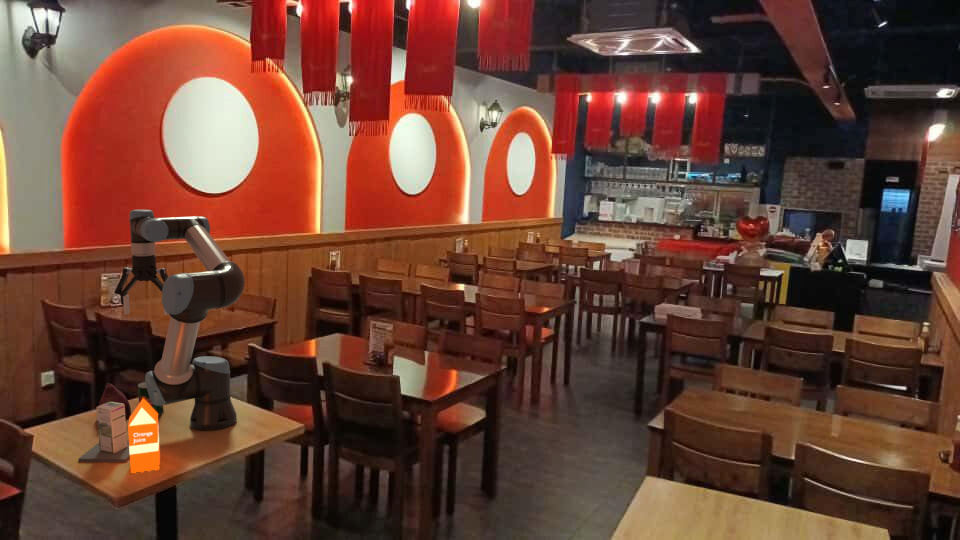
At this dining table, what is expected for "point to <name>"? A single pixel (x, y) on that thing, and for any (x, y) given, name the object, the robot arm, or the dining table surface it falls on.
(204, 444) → the dining table surface
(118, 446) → the syrup box
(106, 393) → the vegetable
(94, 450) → the mat
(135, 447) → the orange juice
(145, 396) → the canned tomato
